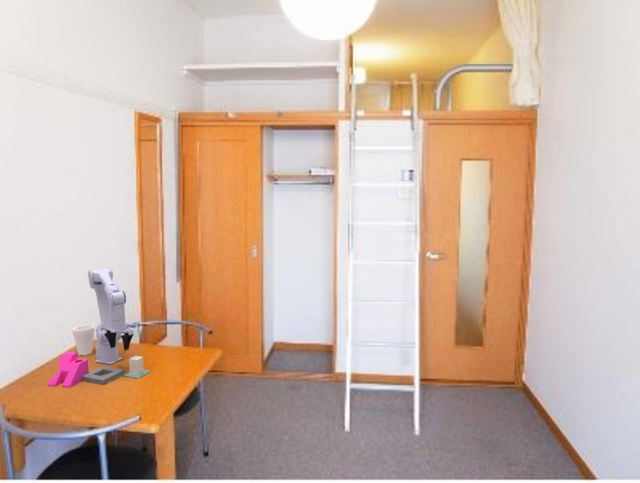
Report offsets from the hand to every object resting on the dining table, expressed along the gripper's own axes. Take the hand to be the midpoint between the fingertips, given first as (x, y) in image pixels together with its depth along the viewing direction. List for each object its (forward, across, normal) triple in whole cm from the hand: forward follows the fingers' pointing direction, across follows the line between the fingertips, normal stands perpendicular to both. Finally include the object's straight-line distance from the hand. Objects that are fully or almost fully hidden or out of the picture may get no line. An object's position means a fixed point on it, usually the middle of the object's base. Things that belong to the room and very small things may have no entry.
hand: (119, 348), depth 212 cm
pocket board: (+10, -2, -8) cm, 13 cm away
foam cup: (+11, -33, +11) cm, 36 cm away
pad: (+10, +9, 0) cm, 14 cm away
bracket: (+11, -13, -16) cm, 23 cm away
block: (+10, +9, 0) cm, 13 cm away
